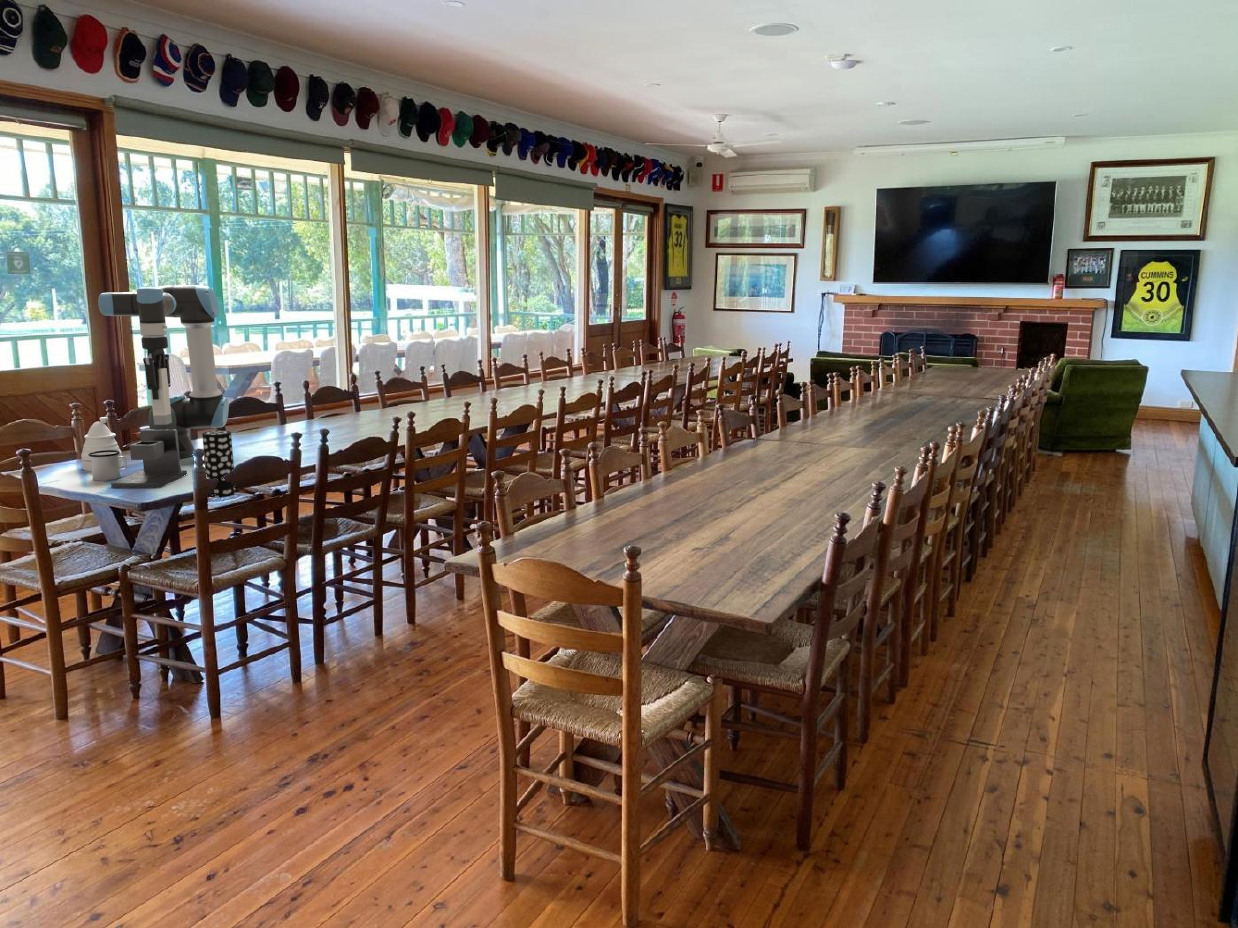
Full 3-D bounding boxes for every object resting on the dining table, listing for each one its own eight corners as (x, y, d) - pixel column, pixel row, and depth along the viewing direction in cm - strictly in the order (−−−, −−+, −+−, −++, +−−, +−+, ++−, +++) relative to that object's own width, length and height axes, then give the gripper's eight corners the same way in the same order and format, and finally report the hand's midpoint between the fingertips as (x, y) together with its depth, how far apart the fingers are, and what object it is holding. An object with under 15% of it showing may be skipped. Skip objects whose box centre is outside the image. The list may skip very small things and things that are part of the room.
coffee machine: (141, 474, 321) (136, 429, 318) (187, 474, 321) (183, 429, 318) (111, 487, 301) (106, 439, 298) (160, 487, 302) (155, 439, 298)
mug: (100, 482, 308) (97, 456, 306) (85, 479, 313) (82, 453, 311) (135, 476, 318) (132, 450, 316) (119, 473, 323) (117, 447, 321)
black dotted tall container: (239, 491, 296) (235, 430, 292) (230, 497, 288) (224, 435, 284) (213, 491, 296) (208, 430, 292) (203, 497, 288) (197, 435, 284)
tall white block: (159, 422, 303) (154, 368, 299) (171, 422, 304) (166, 368, 300) (154, 424, 299) (148, 369, 296) (166, 424, 300) (161, 369, 296)
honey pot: (121, 462, 342) (116, 414, 338) (124, 468, 331) (119, 419, 328) (81, 465, 335) (75, 417, 331) (83, 472, 324) (78, 421, 321)
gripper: (153, 338, 287) (161, 412, 292) (177, 334, 304) (184, 404, 309) (129, 338, 287) (137, 412, 292) (154, 334, 303) (161, 404, 309)
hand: (161, 408), depth 300 cm, fingers closed on tall white block, 4 cm apart
